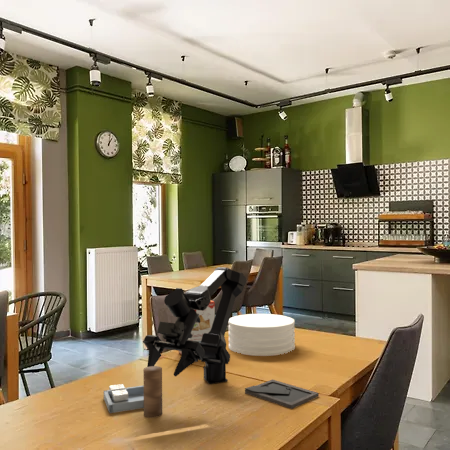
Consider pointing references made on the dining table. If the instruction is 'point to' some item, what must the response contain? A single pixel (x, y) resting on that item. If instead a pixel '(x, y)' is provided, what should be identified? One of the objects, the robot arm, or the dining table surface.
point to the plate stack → (261, 334)
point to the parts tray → (133, 401)
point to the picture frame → (281, 393)
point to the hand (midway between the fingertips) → (161, 373)
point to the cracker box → (203, 322)
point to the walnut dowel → (152, 391)
